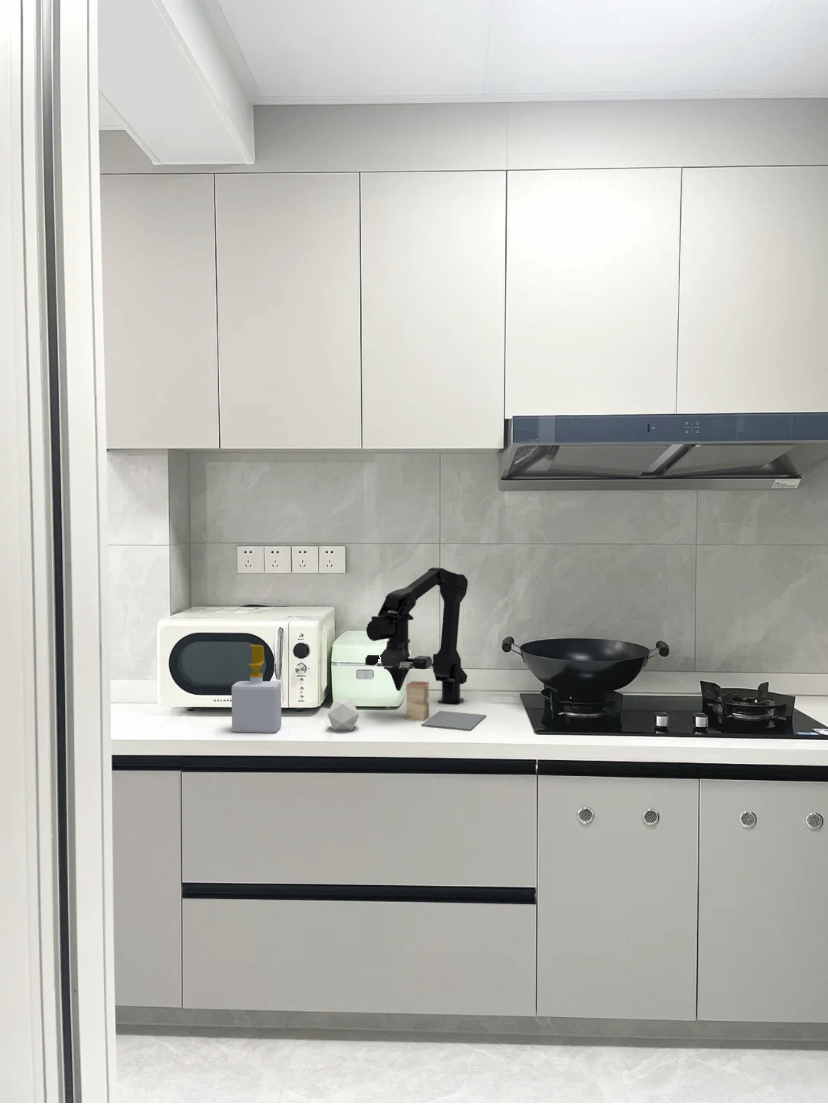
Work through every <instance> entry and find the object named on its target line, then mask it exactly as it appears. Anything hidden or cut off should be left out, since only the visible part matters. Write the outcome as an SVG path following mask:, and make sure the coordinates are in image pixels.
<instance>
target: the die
mask: <svg viewBox="0 0 828 1105" xmlns="http://www.w3.org/2000/svg"><path fill="white" fill-rule="evenodd" d="M327 716H328V719H329V722H330V725H331V727H332V730H333V731H335V732H337V731H338V732H340V731H344V732H345V731H349V730H352V731H353V730H354V728H355V726H356V723H357V722H358V720H359V717H360V715H359V713H358V709H357V707H356V704H355V702H354V700H353V699H335V700H333V702H332V704H331V706H330V708H329V710H328V712H327Z"/></svg>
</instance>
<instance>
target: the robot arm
mask: <svg viewBox="0 0 828 1105" xmlns="http://www.w3.org/2000/svg"><path fill="white" fill-rule="evenodd" d="M468 585H469V581H468V578H467V577H466V576H465V575H464V574H463V573H462V574H461V573H455V572H452V571H449V570H447V569H445V568H444V567H434V566H433V567H430V568H429V569H428V570H427V571H426V572H425V573H423V574H422V575H420V576H419V577H418V578H416V579H415V580H414V581H413V582H411V583H410V584H408V585H407V586H406V587H403V588H399V589H396V590H393V591H390V592H389V593H388V594H386V595H385V599H384V601H383V604H382V605H381V608H380V609H379V612H378V614H377V615H373V616H371V620H370V621H369V622H368V623H367V626H366V628H365V631H366V636H367V637H368V639H369V640H370V641H372V642H377V641H383V640H387V639H388V640H387V641H386V647H385V649H384V650H383V651H382V652H381V653H382V654H381V655H380V657H381V663H380V664H381V666H382V667H383V669H384V670H387V672H388V673H389V675H390V676H391V678H392V680H393V684H394V687H395V690H396V691H397V692H398V691H401V690H402V687H403V685H404V682H405V679H406V677H407V675H408V673H409V671H410V670H411V669H413V668H414V669H416V670H427V669H429V668H431V667H432V671H433V672H432V673H433V674H434V677H435V681H437V682H441V698H440V699H438V701H437V703H441V704H451V705H452V704H453V705H459V704H460V703H461V702H463V701H464V699H465V698H464V697H461V685H464V684H465V683H467V681H468V675H467V673H466V672H465V671H464V669H463V668H462V660H461V657H460V655H459V652H458V649H457V647H458V638H459V637H458V636H459V623H460V611H461V610H460V609H461V603H462V601H463V600H464V598H465V596H466V595H467V591H468ZM436 586H438V587H439V593H440V596H441V598H442V600H443V609H442V610H443V611H442V612H443V613H442V625H441V626H442V627H441V637H440V638H441V639H440V647H439V650H438V651H437V653H433V655H432V657H431V656H430V655H429V656H428V655H418V656H416V657H413V658H411V653H410V652H409V644H411V639H410V638H409V621H413V620H414V616H412V615H411V614H410V612H411V611H412V610H413V609H414V608H415V606H416V604H417V601H418V599H420V598H421V597H423V596H424V595H425V594H426V593H428V592H429V591H431V590H432V589H434V588H435V587H436ZM366 656H367V657H366ZM366 656H365V662H364V664H365V666H372V667H373V666H377V664H379V663H378V659H380V658H379V655H369V654H367V655H366Z"/></svg>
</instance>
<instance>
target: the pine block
mask: <svg viewBox="0 0 828 1105" xmlns="http://www.w3.org/2000/svg"><path fill="white" fill-rule="evenodd" d="M429 718H430V681H429V682H428V681H418V680H417V681H416V680H412V681H410V682H408V683H406V720H408V719H409V720H410V721H419V722H421V721H424V722H425V721H426V720H427V719H429Z"/></svg>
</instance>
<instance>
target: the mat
mask: <svg viewBox="0 0 828 1105" xmlns="http://www.w3.org/2000/svg"><path fill="white" fill-rule="evenodd" d="M486 717H487V715H486V714H479V713H471V712H470V713H469V712H457V711H447V710H446V711H445V710H439V711H437V712H436V713H435V714H434V715H432V716H431V717H428V718H427V719H426V720H424V722H422V723H421V727H425V728H436V729H437V728H438V729H444V730H445V729H448V730H456V731H457V730H458V731H466V732H467V731H468V732H471V731H472V730H473V729H475V728H476V727H477V726H478V725H479V724H480V723H481V722H482V721H483V720H484V719H485V718H486Z"/></svg>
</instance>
